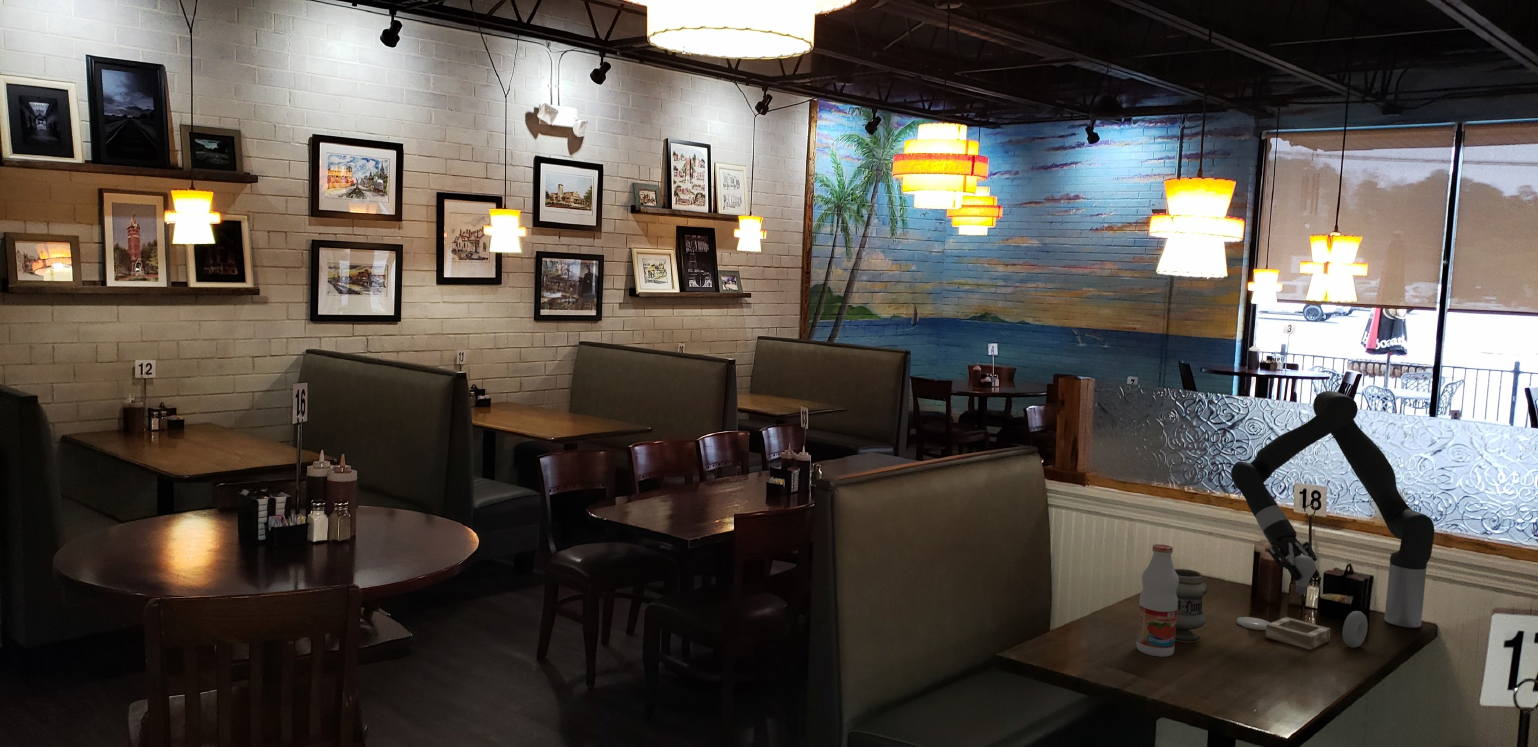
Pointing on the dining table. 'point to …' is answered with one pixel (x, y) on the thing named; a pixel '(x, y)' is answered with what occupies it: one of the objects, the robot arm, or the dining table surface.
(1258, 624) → the white round part
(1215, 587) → the dining table surface
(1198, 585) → the apothecary jar
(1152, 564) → the fruit juice
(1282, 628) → the pocket
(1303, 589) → the lightbulb
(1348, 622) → the donut
